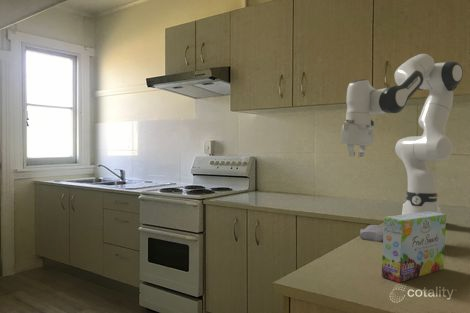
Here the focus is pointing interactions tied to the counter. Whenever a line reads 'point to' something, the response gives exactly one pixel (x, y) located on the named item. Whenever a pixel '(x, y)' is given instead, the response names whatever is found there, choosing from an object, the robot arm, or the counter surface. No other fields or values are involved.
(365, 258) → the counter surface
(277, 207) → the counter surface
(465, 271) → the counter surface
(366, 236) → the stone block
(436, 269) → the snack box
